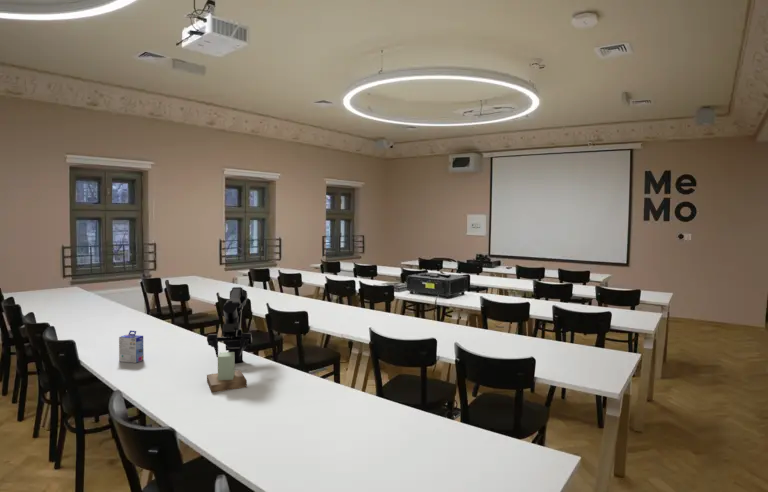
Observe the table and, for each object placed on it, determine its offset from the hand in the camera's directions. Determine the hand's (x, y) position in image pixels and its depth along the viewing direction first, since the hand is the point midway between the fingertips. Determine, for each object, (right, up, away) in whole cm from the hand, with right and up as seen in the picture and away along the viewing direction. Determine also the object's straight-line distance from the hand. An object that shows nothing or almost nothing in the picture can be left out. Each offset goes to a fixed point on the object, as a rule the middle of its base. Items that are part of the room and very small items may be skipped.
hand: (228, 356), depth 208 cm
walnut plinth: (+1, -11, -5) cm, 12 cm away
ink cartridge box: (-55, -8, +25) cm, 61 cm away
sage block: (+1, -8, -5) cm, 9 cm away
